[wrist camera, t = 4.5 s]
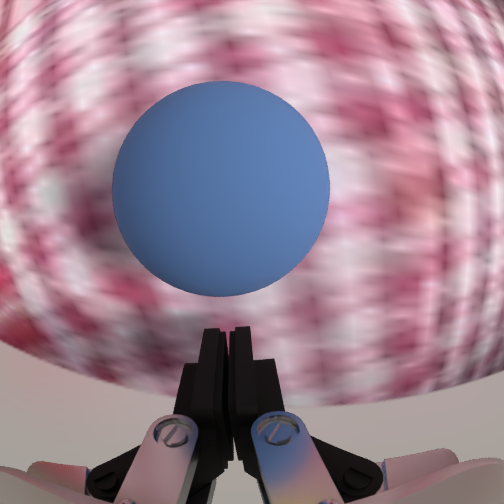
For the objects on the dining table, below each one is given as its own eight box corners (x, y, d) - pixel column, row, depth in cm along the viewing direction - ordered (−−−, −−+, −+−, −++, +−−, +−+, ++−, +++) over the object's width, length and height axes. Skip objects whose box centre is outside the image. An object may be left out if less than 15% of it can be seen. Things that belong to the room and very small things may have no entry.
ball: (312, 242, 10) (380, 308, 5) (171, 271, 10) (120, 357, 5) (285, 99, 9) (333, 28, 3) (138, 132, 9) (49, 101, 4)
